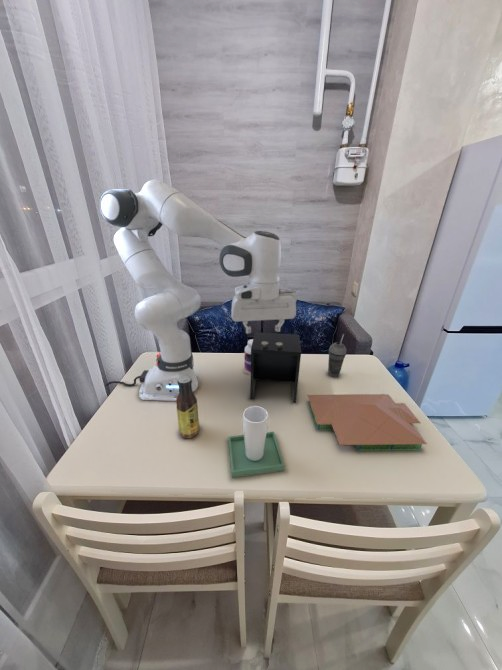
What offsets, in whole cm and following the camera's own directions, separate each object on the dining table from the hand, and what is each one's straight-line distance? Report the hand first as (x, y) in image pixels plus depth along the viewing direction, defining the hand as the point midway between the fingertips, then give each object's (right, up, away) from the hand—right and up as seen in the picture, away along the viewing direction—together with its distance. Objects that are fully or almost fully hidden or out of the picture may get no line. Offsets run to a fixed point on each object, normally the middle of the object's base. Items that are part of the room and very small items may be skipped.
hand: (263, 331), depth 84 cm
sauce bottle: (-23, -32, 0) cm, 40 cm away
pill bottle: (-3, -17, +32) cm, 37 cm away
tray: (-3, -36, -8) cm, 37 cm away
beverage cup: (+32, -19, +30) cm, 48 cm away
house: (+34, -31, +4) cm, 46 cm away
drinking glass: (-3, -36, -8) cm, 37 cm away
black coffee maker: (+5, -23, +20) cm, 31 cm away
